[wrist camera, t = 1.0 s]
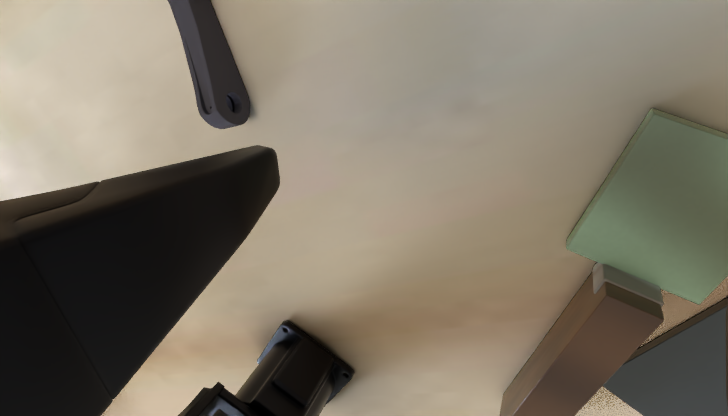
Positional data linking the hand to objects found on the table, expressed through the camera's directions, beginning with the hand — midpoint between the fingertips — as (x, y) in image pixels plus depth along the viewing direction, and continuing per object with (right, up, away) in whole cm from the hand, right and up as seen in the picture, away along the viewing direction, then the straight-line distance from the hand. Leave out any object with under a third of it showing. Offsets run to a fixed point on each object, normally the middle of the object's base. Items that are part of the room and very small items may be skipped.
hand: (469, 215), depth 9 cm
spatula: (+10, -5, +14) cm, 18 cm away
